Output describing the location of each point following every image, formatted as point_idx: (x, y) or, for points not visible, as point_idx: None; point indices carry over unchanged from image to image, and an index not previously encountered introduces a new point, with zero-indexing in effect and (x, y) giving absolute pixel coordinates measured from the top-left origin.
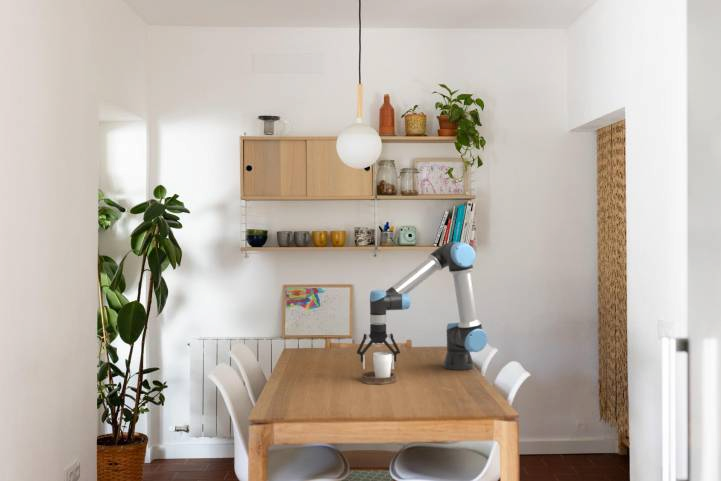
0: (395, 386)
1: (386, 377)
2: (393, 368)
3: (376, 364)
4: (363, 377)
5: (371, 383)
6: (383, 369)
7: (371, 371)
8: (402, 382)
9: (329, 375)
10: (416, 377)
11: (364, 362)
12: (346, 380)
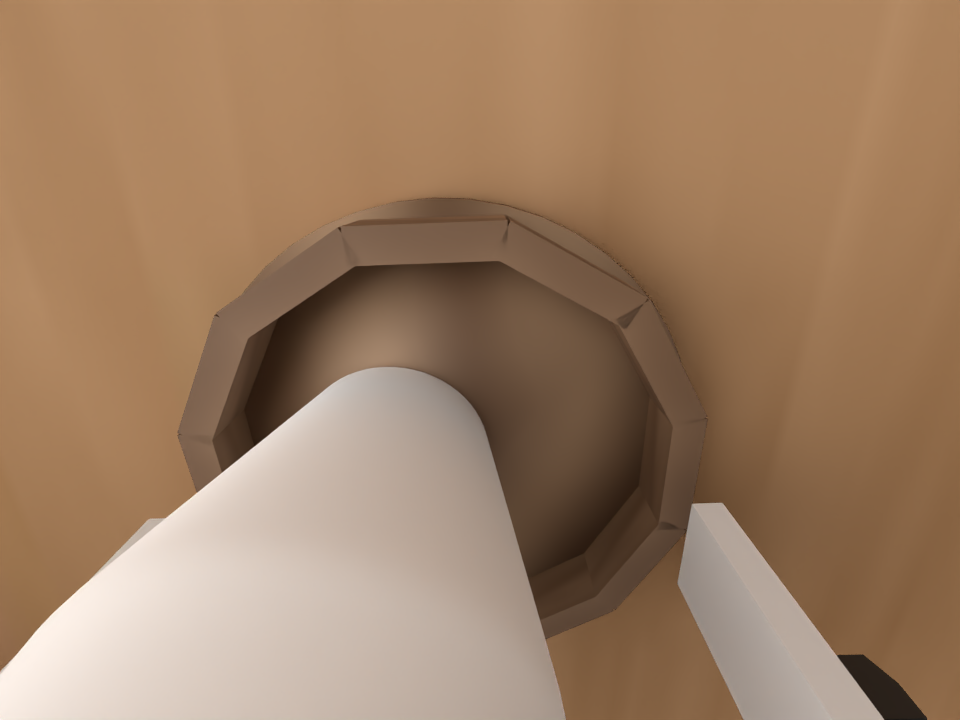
0: (164, 61)
1: (301, 290)
2: (150, 528)
3: (468, 528)
4: (678, 367)
5: (550, 223)
6: (323, 428)
7: None
8: (128, 338)
9: (956, 650)
10: (40, 570)
11: (780, 626)
12: (844, 450)
